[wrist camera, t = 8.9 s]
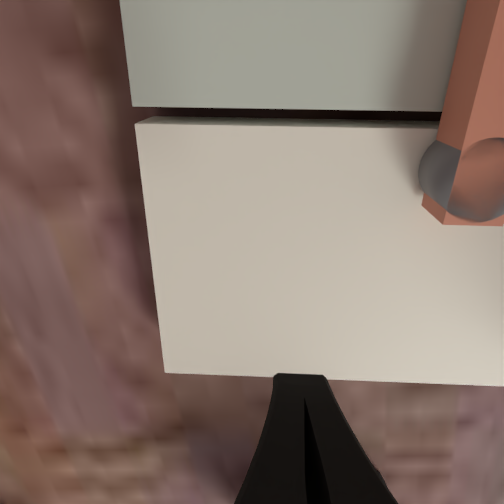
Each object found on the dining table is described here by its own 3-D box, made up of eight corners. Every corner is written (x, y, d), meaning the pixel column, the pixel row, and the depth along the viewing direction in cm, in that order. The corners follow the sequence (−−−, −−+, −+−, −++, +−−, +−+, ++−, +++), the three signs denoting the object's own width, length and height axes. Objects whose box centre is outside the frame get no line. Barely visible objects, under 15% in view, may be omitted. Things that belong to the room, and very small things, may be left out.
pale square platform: (751, -320, 10) (1081, -584, 6) (493, 352, 21) (549, 424, 17) (111, -307, 11) (12, -540, 7) (175, 341, 22) (152, 407, 17)
